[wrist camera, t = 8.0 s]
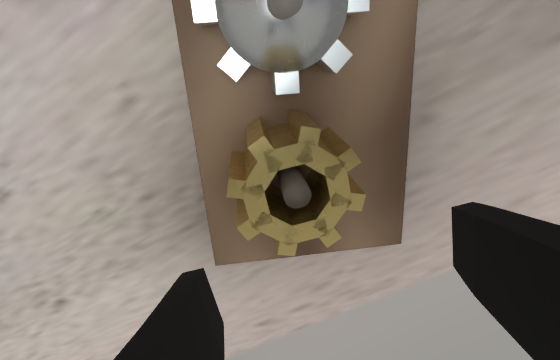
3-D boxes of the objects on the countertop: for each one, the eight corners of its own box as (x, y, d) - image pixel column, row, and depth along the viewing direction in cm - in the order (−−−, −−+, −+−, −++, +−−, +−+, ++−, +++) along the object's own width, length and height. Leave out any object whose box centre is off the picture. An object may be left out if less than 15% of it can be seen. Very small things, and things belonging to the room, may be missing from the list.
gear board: (412, -72, 16) (474, -116, 11) (394, 235, 21) (431, 280, 17) (165, -60, 15) (136, -102, 11) (216, 256, 21) (210, 308, 16)
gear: (353, -90, 14) (371, -112, 12) (352, 82, 17) (367, 87, 15) (185, -82, 14) (175, -104, 12) (210, 94, 16) (205, 100, 14)
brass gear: (347, 199, 19) (372, 236, 15) (247, 224, 19) (249, 267, 15) (329, 98, 17) (353, 112, 13) (217, 126, 17) (210, 149, 13)
